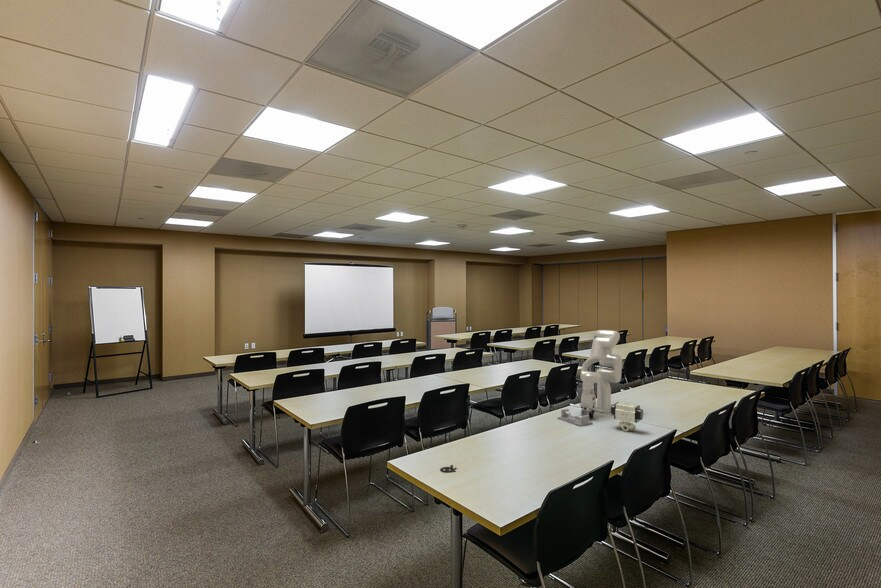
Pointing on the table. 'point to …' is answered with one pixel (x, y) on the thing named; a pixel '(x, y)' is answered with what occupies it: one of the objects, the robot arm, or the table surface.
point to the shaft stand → (574, 418)
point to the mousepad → (448, 469)
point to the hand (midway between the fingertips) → (588, 417)
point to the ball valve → (627, 414)
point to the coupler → (587, 413)
